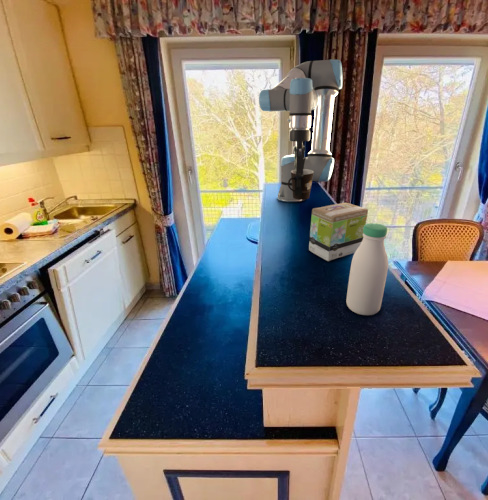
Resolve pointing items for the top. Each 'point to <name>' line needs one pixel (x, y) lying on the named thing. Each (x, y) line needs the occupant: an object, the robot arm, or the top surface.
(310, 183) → the coffee mug
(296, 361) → the top surface
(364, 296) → the milk bottle
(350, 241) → the tea box
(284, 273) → the top surface
